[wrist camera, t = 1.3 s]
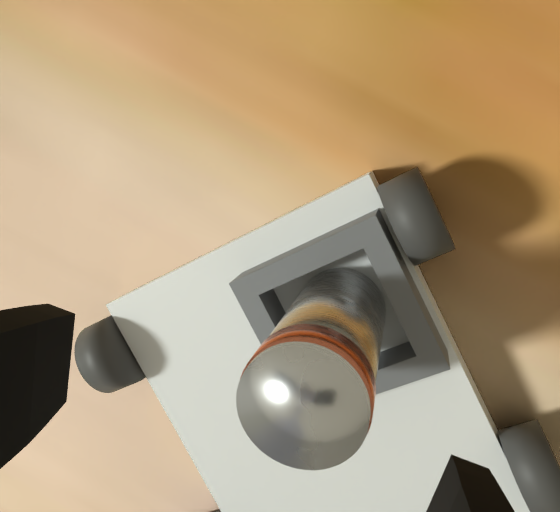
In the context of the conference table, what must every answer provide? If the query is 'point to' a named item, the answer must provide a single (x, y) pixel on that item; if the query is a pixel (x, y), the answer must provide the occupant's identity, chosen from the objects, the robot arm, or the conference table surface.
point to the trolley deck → (262, 321)
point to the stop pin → (316, 373)
